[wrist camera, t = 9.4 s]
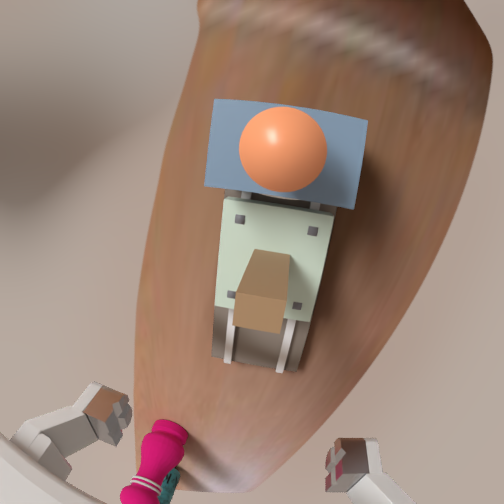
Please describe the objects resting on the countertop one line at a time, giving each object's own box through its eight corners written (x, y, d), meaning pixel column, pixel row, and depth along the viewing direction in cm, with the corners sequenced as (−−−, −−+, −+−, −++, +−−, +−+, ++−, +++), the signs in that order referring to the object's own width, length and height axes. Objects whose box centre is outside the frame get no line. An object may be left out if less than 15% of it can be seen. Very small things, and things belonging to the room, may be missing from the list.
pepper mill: (177, 417, 39) (133, 517, 21) (198, 441, 41) (164, 533, 23) (144, 416, 41) (98, 503, 23) (165, 440, 43) (128, 522, 24)
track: (230, 176, 26) (224, 178, 24) (336, 193, 25) (340, 196, 23) (214, 348, 33) (210, 359, 31) (296, 363, 32) (296, 375, 30)
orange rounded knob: (257, 115, 18) (244, 102, 13) (322, 124, 17) (332, 114, 13) (249, 178, 19) (234, 185, 14) (313, 188, 19) (319, 198, 14)
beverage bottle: (175, 473, 49) (149, 539, 30) (150, 460, 48) (120, 526, 29) (188, 468, 47) (162, 541, 28) (162, 454, 46) (129, 527, 27)
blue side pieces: (237, 114, 24) (214, 98, 17) (346, 130, 23) (367, 120, 16) (229, 180, 26) (203, 190, 19) (336, 196, 25) (352, 213, 18)
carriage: (228, 196, 25) (190, 221, 16) (331, 212, 24) (353, 247, 15) (218, 298, 28) (186, 359, 19) (309, 313, 27) (312, 382, 18)
